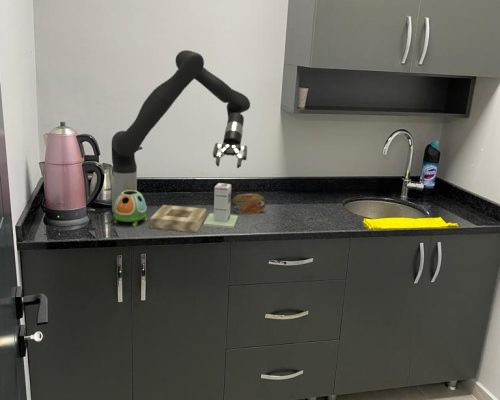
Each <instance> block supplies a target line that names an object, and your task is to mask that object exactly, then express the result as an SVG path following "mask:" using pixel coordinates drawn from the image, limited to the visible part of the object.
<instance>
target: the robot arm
mask: <svg viewBox="0 0 500 400" xmlns="http://www.w3.org/2000/svg"><path fill="white" fill-rule="evenodd" d="M175 65H176V68H177V70H176V71H175V73H173V75H172V76H171V77H170V78H169V79H167V80H166V81H164V82H162V83H161V84H159V85H158V86H157V87H155V89H153V90H152V92H151V93H150V94H149V95H148V96H147V98H146V99H145V100H144V102H143V103H142V105H141V108H140V109H139V112H138V113H137V116H136V118H135V120H134V121H133V123H132V124H130V126H129V127H128V128H127V129H126V130H120V131H117V132H115V134H114V135H113V136H112V139H111V161H112V162H111V163H112V166H113V171H112V173H113V189H111V202H112V203H111V208H112V209H111V211H112V213H114V209H113V208H114V205H115V202H116V200H117V198H118V197H119V196H120V195H121V193H122V192H123V191H126V190H134V191H138V190H137V189H138V187H137V186H138V184H137V183H138V180H137V179H138V178H137V175H138V174H137V173H138V172H137V163H136V157H135V154H136V152H138V150H139V149H140V147H141V145H142V144H143V142H144V141H145V139H146V137H147V136H148V134H149V133H150V132H151V131H152V130H153V128H154V127H155V126H156V125H157V124H158V123H159V121H161V119H162V118H163V116H165V114H166V113H167V112H168V110H169V109H170V108H171V107H172V106H173V103H175V102H176V101H177V99H178V98H179V97H180V95H182V93H183V92H184V90H186V88H187V87H188V86H189V84H191V83H192V82H193V80H195V81H197V82H198V83H199V84H201V85H202V86H203V87H204V88H206V89H207V90H208V91H209V92H210V93H211V94H212V95H213V96H215V97H216V98H217V99H218V100H219V101H221V102H222V104H223V103H224V104H226V112H227V123H226V127H225V130H224V134H223V135H224V136H223V142H222V144H218V142H216V143H214V148H213V150H212V156H213V158H214V159H215V165H216V166H217V167H219V166H220V162H221V159H222V158H223V157H225V156H233V157H236V158H237V165H236V168H237V169H239V168H241V166H242V161H246V160H247V158H248V157H247V156H248V146H247V145H244V146H242V145H241V144H242V138H243V132H244V131H243V127H244V121H245V120H244V119H245V118H244V115H243V113H244V112H247V111H249V109H250V107H251V101H250V100H249V98H248V96H246V95H245V94H244V93H242V92H239V91H237V90H234V89H232V87H230V86H229V85H228V84H227V83H226V82H225V81H223V80H222V79H220V78H219V77H218V76H217V75H215V74H213V73H212V72H210V71H209V70H208V69H206V68H205V67H204V65H205V60H204V57H203V56H202V54H200V53H198V52H196V51H192V50H181V51H179V52H178V53H177V55H176V56H175ZM240 151H241V152H243V153H242V154H243V155H241V153H240ZM132 194H135V193H132Z"/></svg>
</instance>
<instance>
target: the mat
mask: <svg viewBox="0 0 500 400" xmlns="http://www.w3.org/2000/svg"><path fill="white" fill-rule="evenodd" d="M238 219H239V215H234V214H230V219H229V220H228V221H227V222H221V221H214V212H212V213H211V212H210V213H209V214H208V215H207V216H206V219H205V220H204V222H203V223H202V224H203V227H211V228H212V227H213V228H220V229H231V230H233V229H234V228H235V226H236V224H237V221H239V220H238Z"/></svg>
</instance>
